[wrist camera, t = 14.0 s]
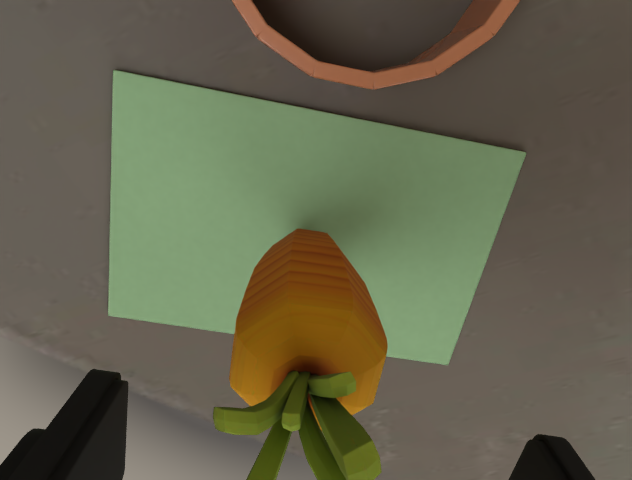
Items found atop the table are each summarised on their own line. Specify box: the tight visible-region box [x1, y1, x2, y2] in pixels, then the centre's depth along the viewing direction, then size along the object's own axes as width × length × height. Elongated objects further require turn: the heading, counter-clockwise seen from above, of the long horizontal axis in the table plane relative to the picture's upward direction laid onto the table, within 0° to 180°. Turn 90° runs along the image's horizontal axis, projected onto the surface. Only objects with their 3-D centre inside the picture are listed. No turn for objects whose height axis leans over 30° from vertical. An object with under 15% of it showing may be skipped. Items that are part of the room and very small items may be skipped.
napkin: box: [108, 70, 526, 365], centre depth 22 cm, size 20×13×1 cm, turn 79°
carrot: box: [213, 229, 388, 480], centre depth 15 cm, size 5×5×15 cm
